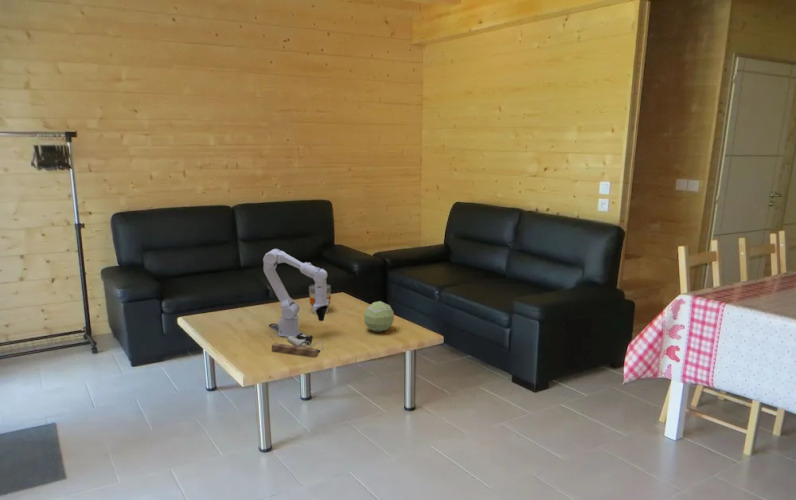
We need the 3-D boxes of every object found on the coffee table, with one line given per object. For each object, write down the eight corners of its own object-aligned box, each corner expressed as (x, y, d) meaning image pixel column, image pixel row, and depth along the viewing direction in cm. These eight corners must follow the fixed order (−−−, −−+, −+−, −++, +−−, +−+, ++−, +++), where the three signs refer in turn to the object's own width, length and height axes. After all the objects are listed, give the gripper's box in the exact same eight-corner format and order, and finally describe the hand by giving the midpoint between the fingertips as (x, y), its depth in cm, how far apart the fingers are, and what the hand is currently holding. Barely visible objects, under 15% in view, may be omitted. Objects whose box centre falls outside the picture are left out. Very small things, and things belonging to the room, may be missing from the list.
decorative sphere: (399, 332, 294) (399, 304, 291) (373, 337, 286) (373, 308, 283) (384, 324, 306) (384, 297, 304) (359, 329, 299) (359, 301, 296)
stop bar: (271, 351, 266) (271, 345, 266) (275, 349, 269) (275, 343, 269) (314, 357, 259) (314, 351, 259) (317, 355, 262) (317, 348, 262)
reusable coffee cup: (311, 308, 334) (310, 283, 331) (333, 309, 334) (332, 283, 331) (307, 315, 322) (306, 289, 319) (329, 315, 321) (329, 289, 318)
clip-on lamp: (327, 354, 272) (300, 339, 281) (330, 342, 270) (302, 327, 279) (311, 359, 262) (283, 343, 271) (314, 347, 260) (285, 331, 269)
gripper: (321, 298, 276) (321, 325, 278) (334, 291, 289) (334, 317, 292) (308, 297, 278) (308, 324, 281) (321, 289, 291) (322, 315, 294)
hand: (321, 320), depth 286 cm, fingers closed
